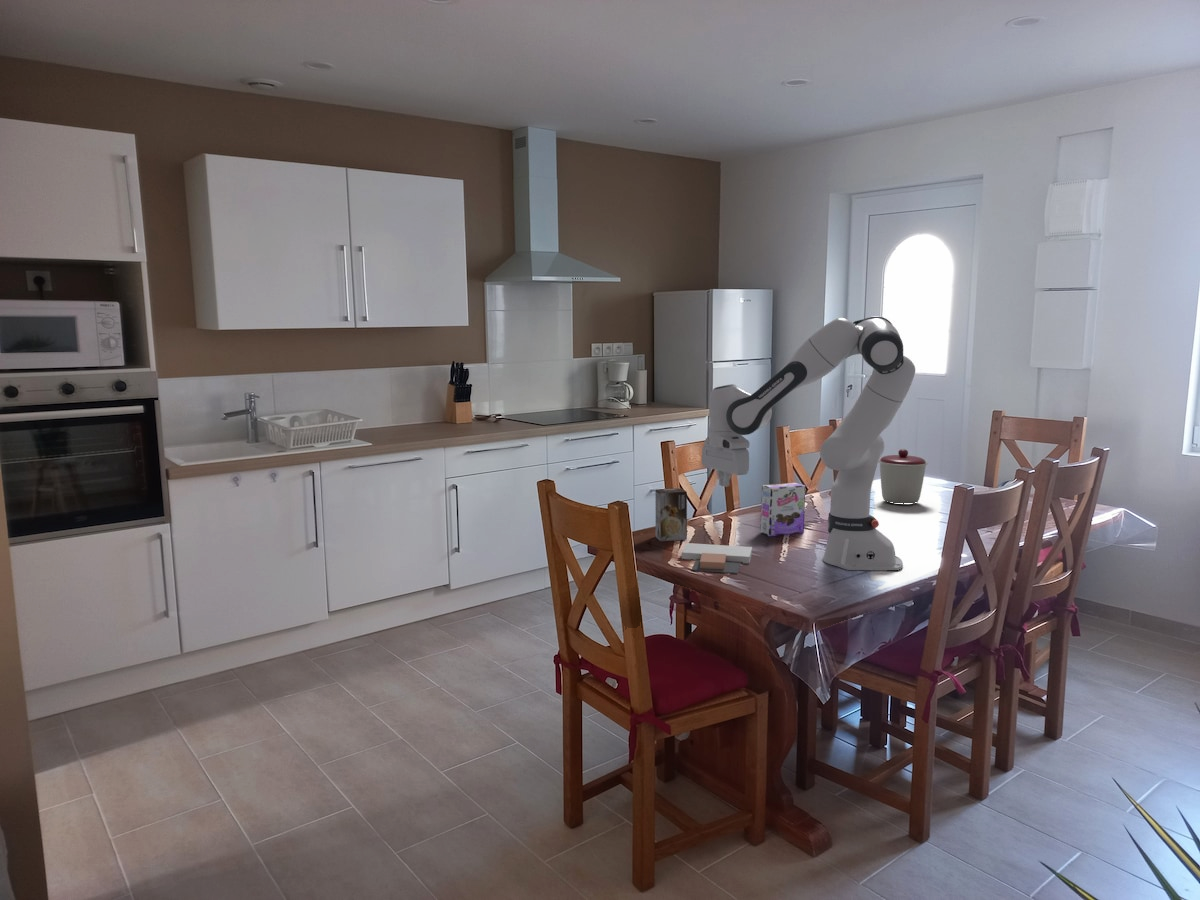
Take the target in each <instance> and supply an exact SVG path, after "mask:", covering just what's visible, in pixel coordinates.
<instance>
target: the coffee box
mask: <svg viewBox="0 0 1200 900" xmlns="http://www.w3.org/2000/svg"><path fill="white" fill-rule="evenodd" d="M654 492H655V538H656V539H658V541H659V542H670V541H685V540H686V541H687V540H688V493H687V490H685V489H683V488H681V487H680V488H677V487H676V488H659V489H658V488H657V489H655V491H654Z"/></svg>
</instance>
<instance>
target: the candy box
mask: <svg viewBox="0 0 1200 900" xmlns="http://www.w3.org/2000/svg"><path fill="white" fill-rule="evenodd" d="M760 504H761V507H760V526H759V527H760V530H759V532H760V533H761V534H763V535H765V536H767V537H776V536H785V535H796V533H797V534H802V533H803V534H804V533H805V513H806V512H805V510H806V508H805V506H806V485H805V484H802V483H798V482H789V483H777V484H762V485H761V502H760Z"/></svg>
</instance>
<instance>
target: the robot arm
mask: <svg viewBox="0 0 1200 900" xmlns="http://www.w3.org/2000/svg"><path fill="white" fill-rule="evenodd" d="M854 355H855V356H856V355H861V357H862V358H863V360H864V361H865V362H866V364H867V365H869V366H870V367H871V368H872V369H873V370H872V372H871V375H870V376H869V378H868V379H867V381H866V383H865V385H864V386H863V388H862V391H861V393H860V394H859V395H858V398H857V399H856V402H855V403H854V405H853V406H852V408H851V409H850V410H849V412H848V413H847V414H846V416H845V417H844V418H843V419H842V421H841V422H840V423H839V425H838V426H837V427H836V428H835V429H834V431H833V432H832V433H831V434H830V436H829V437H827V438H826V439H825V440H824V441H823V442H822V443H821V444H820V449H819V456H820V460H821V461H822V463H823V465H824V466H825V467H827V468H829V469H830V470H834V471H838V473H837V475H836V478H835V480H834V481H833V484H832V486H831V489H830V490H831V491H830V509H829V510H830V511H829V513H828V518H827V532H828V534H827V535H828V536H827V541H826V547H825V549H824V550H825V551H824V553H823V555H822V561H823V562H824V563H827V564H828V565H831V566H832V565H833V566H836V567H839V568H842V569H844V570H847V571H887V570H898V571H900V570H902V569H903V567H904V565H903V564H904V563H903V560H902V559H901V558H900V557H898V556H897V555H896V551H895V550H896V549H895V547H894V543H893V542H892V541H891V540H890V539H889V538H888V537H887V536H885V535H884V534H883V533H882V532H880V531H879V530H878V529H877V528H878V527H879V526H880V523H879V521H878V519H877V518H876V517H875V516H873V515H871V514H870V509H871V508H870V507H871V493H872V488H873V486H872V485H873V483H874V478H875V475H876V470H877V467H878V463H879V462H878V461H879V459H881V458H882V455H883V453H884V450H885V442H884V438H883V437H882V435H881V433H883V432H884V430H886V429H887V427H888V428H889V426H890V424H891V423H892V421H893V420H894V418H895V416H896V414H897V413H898V411H899V410H900V409H899V408H900V407H901V405H902V404H903V402H904V400H905V398H906V397H907V394H908V393H909V390H910V388H911V386H912V384H913V380H914V377H915V374H916V366H915V364H914V363H913V361H912V360H911V359H910V358H909V357H907V356H905V355H904V344H903V340H902V338H901V336H900V333H899V332H898V329H897V328H896V327H895V326H894V325H893V323H892V322H891V321H890V320H889V319H887V318H886V317H883V316H878V315H874V316H873V315H871V316H869V317H865V318H862V319H859V320H855V321H853V322H852V321H851V320H849V319H848V318H844V317H838V318H835V319H833V320H832V321H829V322H828V323H826V324H825V325H824V326H822V327H821V328H820V329H818V330H817V331H815V332H814V333H813V334H812V335H811V336H809V337H808V338H807V339H806V340H804V342H803V343H802V344H801V345H800V346H799V347H798V348H797V349H796V351H795V352H793V354H792V355H791V356H790V358H789V359H788V360H787V362H785V364H784V365H783V366H782V367H781V368H780V370H778V372H776V374H775V375H773V376H772V377H771V378H770V379H769V380H767V381H766V382H765V383H764V384H762V386H760V387H759V388H758V389H757V390H756V391H755V392H753V393H750V392H748V391H745V390H744V389H742V388H740V387H739V386H738V385H736V384H734V383H733V384H726V385H721V386H717V387H714V388H712V390H711V391H710V395H709V404H708V416H709V417H708V418H709V420H710V421H709V422H710V424H709V428H708V436H707V437H706V438H705V440H704V442H703V445H702V451H701V464H702V465H701V466H702V467H704V468H708V469H712V470H715V471H716V476H717V479H718V485H719V486H721V487H725V488H727V487H730V480H731V479H732V476H733V475H734V476H743V475H744V476H745V475H747V474H749V471H750V451H749V449H748V448H750V441H749V440H748V439H747V438H746V437H745V436H749V435H751V434H753V433H755V432H756V431H757V430H760V429H761V428H763V427H765V426H766V425H768V423H770V421H771V420H772V417H773V407H774V406H776V405H777V404H779V402H780V401H782V400H783V399H784V398H785V397H786V396H788V395H789V394H790V393H792V392H793V391H796V390H797V389H800V388H801V387H803V386H806V385H807V386H808V385H809V384H811V383H815V382H816V381H819V380H820V379H822V378H824V377H825V376H826V375H828V374H830V373H831V372H833V371H834V369H836V368H837V367H838V366H839V365H840V364H841V363H842V362H844V360H846V359H849V358H850V357H852V356H854ZM901 568H902V569H901ZM899 569H900V570H899Z"/></svg>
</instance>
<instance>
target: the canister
mask: <svg viewBox="0 0 1200 900" xmlns="http://www.w3.org/2000/svg"><path fill="white" fill-rule="evenodd" d="M878 463H879V469H880V470H879V471H880V487H881V496H882V499H883V501H884V500H885V501H888V502H893V503H903V504H904V503H915V502H917V503H918V502H919V500H920V498H921V494H922V489H923V484H924V478H925V472H926V467H927V465H928V464H929V462H928V461H927V460H925V459H924V458H922V457H919V456H913V455H909V451H908V450H907V449H905V448H901V449H899V450H898V454H891V455H884V456H881V457H880V458H879V461H878ZM885 501H884V502H885Z"/></svg>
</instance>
